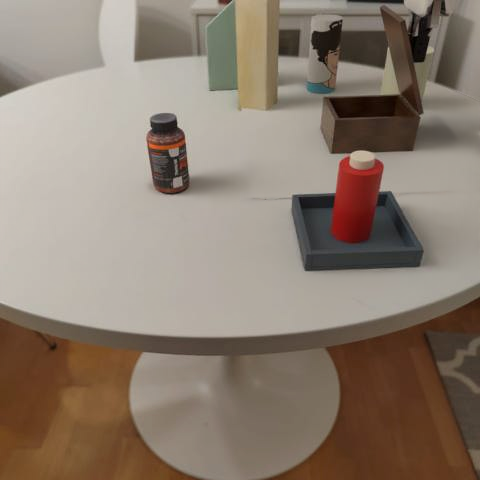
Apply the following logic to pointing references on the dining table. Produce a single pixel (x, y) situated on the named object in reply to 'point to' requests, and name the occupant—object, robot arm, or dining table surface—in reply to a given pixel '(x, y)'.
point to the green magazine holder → (222, 50)
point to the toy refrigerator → (257, 53)
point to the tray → (354, 254)
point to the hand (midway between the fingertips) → (413, 61)
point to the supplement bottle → (167, 154)
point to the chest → (369, 123)
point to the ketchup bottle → (356, 196)
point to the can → (421, 70)
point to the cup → (324, 53)
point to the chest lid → (402, 57)
